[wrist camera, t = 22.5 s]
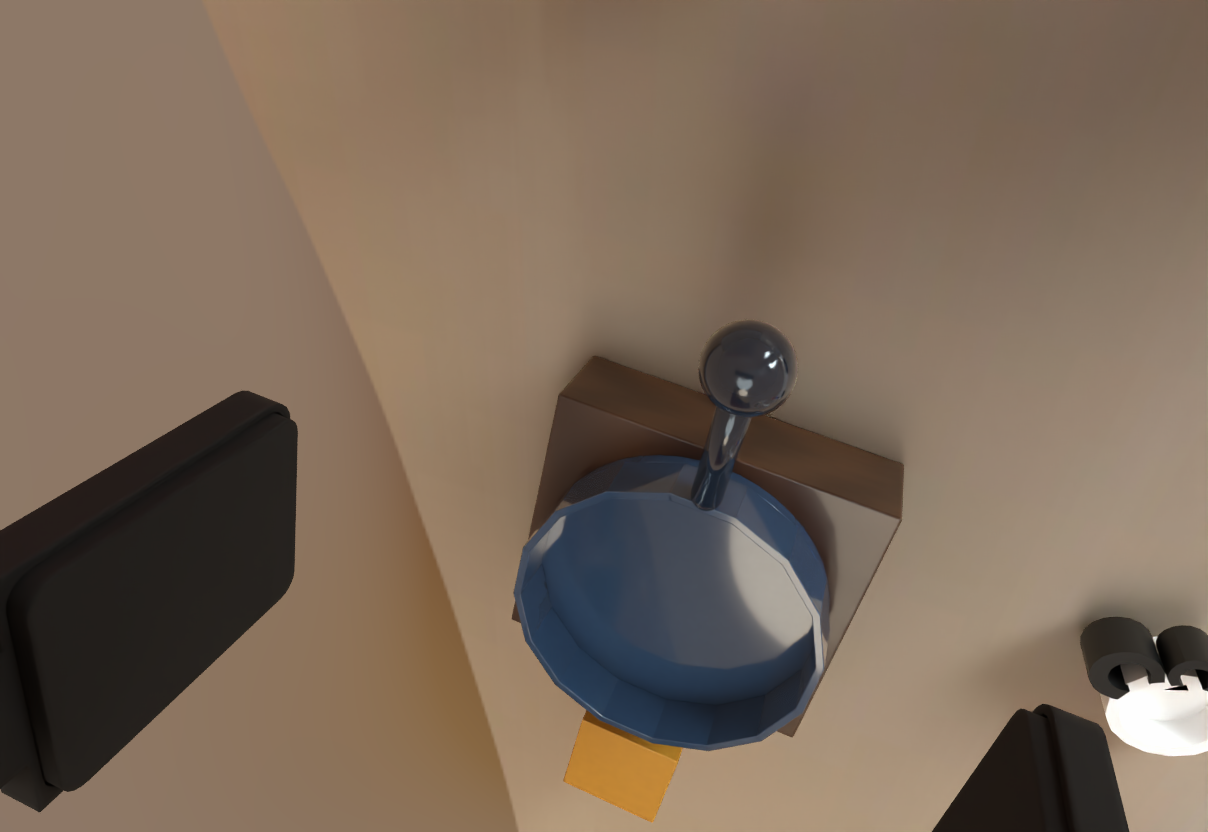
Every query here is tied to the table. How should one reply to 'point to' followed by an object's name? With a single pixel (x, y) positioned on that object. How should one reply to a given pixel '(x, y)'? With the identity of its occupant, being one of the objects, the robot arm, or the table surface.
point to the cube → (621, 767)
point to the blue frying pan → (684, 577)
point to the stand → (767, 458)
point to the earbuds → (1151, 684)
